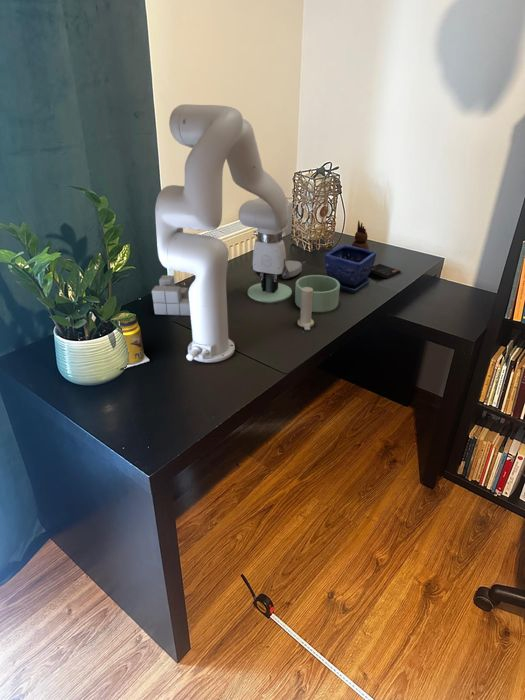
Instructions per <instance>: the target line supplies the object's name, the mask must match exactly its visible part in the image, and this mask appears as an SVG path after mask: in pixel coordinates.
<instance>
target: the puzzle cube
mask: <svg viewBox="0 0 525 700" xmlns="http://www.w3.org/2000/svg"><path fill="white" fill-rule="evenodd" d="M158 282H159V285H154V286H153V288H152V290H151V296H152V305H153V311H154V315H165V316H187V317H188V316H190V317H191V315H190V304H189V287H181V286H179V285H178V286H177V285H176V281H175V275H169V274H168V275H164V274H162V275H161V277H160V278H159V280H158Z"/></svg>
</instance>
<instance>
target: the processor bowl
mask: <svg viewBox="0 0 525 700" xmlns="http://www.w3.org/2000/svg"><path fill="white" fill-rule="evenodd" d="M303 287H310V288H312V289H313V296H312V312H313V313H324V312H329V311H333V310H335V309H336V308H337V307H338V306H339V303H340V302H339V301H340V291H341V289H340V283H339V282H338V280H336V279H334V278H332V277H329V276H328V275H322V274H309V275H303V276H301V277H299V278H298V279H296V281H295V290H294V291H295V292H294V296H295V297H294V304H295V305H296V306H297V307H298V308H299V309H301V289H302V288H303Z"/></svg>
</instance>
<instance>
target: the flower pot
mask: <svg viewBox="0 0 525 700" xmlns="http://www.w3.org/2000/svg"><path fill="white" fill-rule="evenodd" d="M358 256H360V259H358V258H357V257H358ZM376 258H377V252H376V251H373V250H370V249H369V250H367V249H363V248H358V247H354V246H352V245H349V244H341V245H339V246H337V247H335V248H334V249H332V250H330V251H328V252H327V253H325V254H324V265H325V266H324V267H325V270H326V274H327V275H326V276H329V277H332V278H334V279H336V280H338V282H339V283H340V291H344V292H348V293H351V294H355V293H357V292H359V291H360V290H361V289H363V288H364V287H366V286H367V285H368V284H369V283H370V282H371V278H369V275H370V274H371V272H370V271H371V270H372V267H373V266H375V262H376ZM351 259H352V260H351ZM353 259H354V260H353Z"/></svg>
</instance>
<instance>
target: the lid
mask: <svg viewBox="0 0 525 700" xmlns="http://www.w3.org/2000/svg"><path fill="white" fill-rule="evenodd" d="M272 281H273V275H271V274H269V275H266V290H265V291H264V292H263V291H262V288H261V282H259V283H256V284H253V285H251V286H249V288H248V289H247V296H248V297H249V298H250V299H252V300H254V301H257V302H261V303H278V302H282V301H286V300H288V299H289V298H290V297H291V296H292V294H293V291H292V288H291V287H290V286H288V285H287V284H284V283H281V282H278V290H276V291H275V293H272Z"/></svg>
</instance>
